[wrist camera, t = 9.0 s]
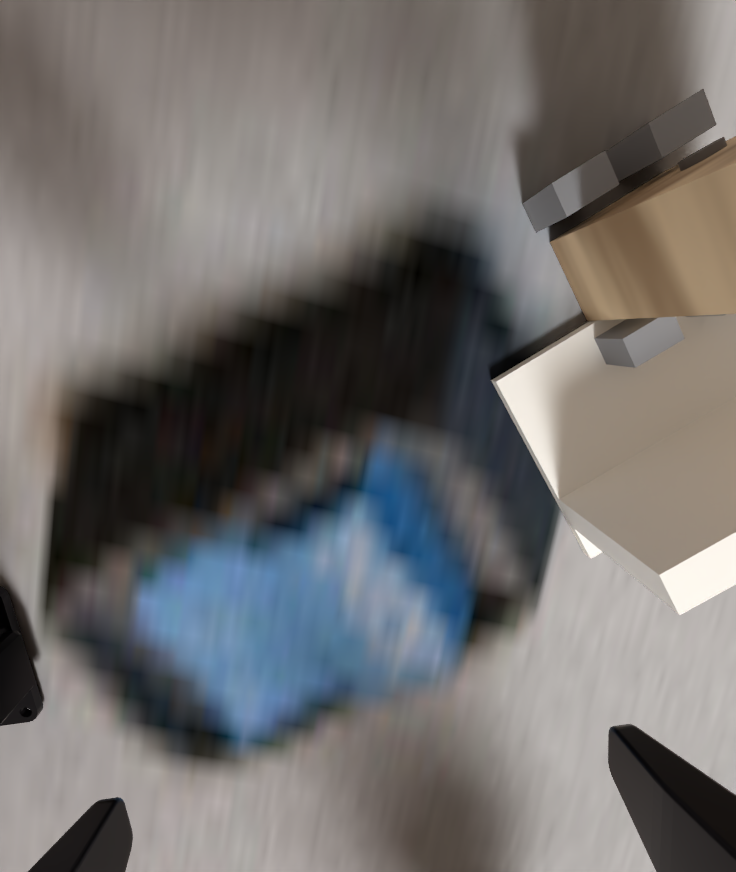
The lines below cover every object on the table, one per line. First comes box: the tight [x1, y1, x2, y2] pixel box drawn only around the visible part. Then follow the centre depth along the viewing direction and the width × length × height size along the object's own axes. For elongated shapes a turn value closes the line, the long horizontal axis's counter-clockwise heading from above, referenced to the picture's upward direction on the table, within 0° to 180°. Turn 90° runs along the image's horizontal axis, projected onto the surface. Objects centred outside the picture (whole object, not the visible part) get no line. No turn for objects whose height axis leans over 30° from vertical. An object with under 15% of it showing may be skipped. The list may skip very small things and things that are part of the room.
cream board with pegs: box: [491, 89, 736, 615], centre depth 16 cm, size 14×14×7 cm
